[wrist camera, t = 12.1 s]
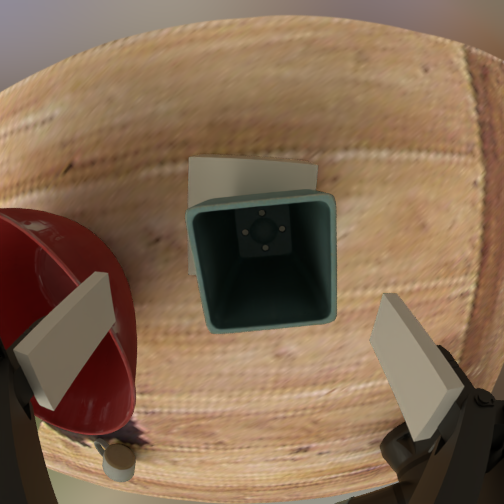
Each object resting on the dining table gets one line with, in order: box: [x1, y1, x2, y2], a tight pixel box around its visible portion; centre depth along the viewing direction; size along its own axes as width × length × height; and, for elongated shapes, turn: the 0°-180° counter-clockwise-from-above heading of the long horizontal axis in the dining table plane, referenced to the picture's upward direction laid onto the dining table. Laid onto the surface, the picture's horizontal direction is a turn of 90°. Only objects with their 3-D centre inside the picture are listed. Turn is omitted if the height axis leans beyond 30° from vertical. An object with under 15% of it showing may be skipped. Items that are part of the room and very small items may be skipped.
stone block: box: [188, 154, 318, 275], centre depth 29 cm, size 11×11×6 cm
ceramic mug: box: [94, 438, 136, 482], centre depth 48 cm, size 11×8×8 cm
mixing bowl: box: [0, 208, 137, 435], centre depth 29 cm, size 28×28×15 cm
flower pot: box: [185, 189, 337, 334], centre depth 22 cm, size 9×9×9 cm
